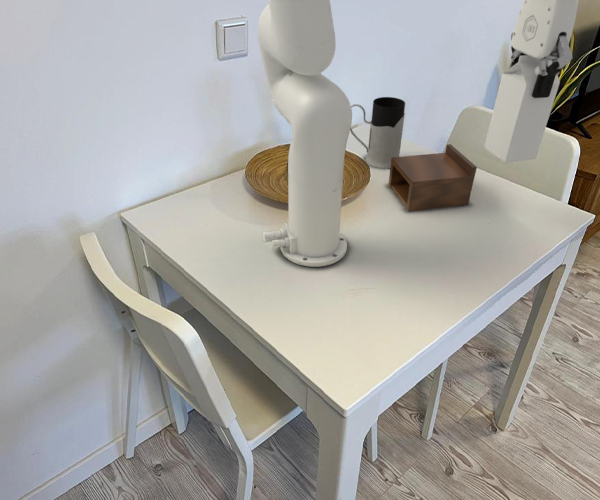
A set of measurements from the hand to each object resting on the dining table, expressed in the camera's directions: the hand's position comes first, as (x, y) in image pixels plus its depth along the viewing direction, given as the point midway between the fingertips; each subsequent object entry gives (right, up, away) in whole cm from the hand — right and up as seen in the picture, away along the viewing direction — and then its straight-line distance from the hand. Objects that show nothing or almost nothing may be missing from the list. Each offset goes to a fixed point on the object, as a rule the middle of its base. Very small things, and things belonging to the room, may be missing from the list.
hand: (527, 89), depth 94 cm
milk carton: (0, -11, +7) cm, 13 cm away
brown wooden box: (-13, -17, +21) cm, 30 cm away
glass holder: (-24, -7, +36) cm, 43 cm away
